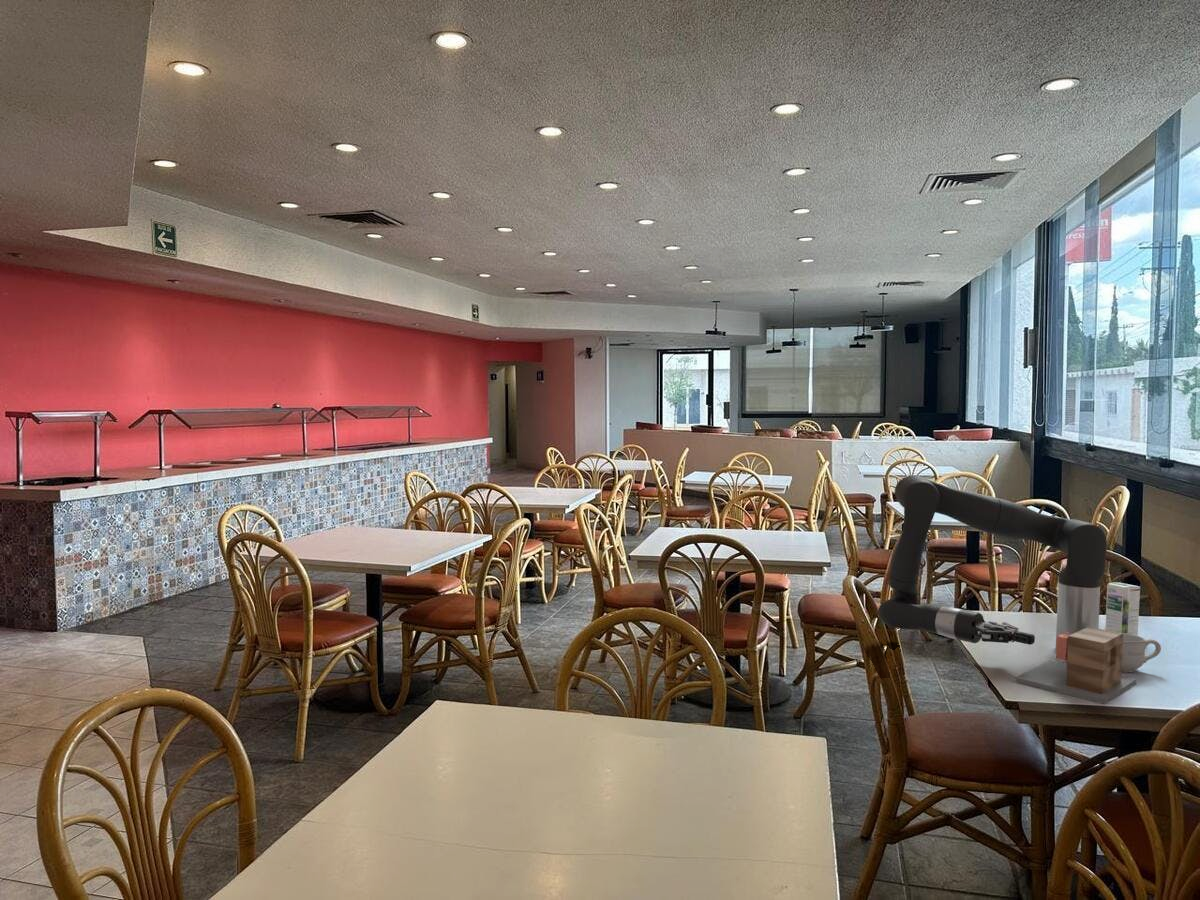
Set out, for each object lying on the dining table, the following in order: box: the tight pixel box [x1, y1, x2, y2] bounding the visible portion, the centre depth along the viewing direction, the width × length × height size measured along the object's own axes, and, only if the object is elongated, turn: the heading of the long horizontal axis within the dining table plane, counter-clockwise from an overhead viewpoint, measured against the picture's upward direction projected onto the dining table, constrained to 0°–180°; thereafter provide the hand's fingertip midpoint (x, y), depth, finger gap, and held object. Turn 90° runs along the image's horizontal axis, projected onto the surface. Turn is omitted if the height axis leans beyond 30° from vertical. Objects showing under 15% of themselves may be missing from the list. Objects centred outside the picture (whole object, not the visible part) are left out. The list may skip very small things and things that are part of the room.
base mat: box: [1014, 659, 1137, 705], centre depth 183 cm, size 20×18×1 cm
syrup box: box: [1104, 581, 1141, 636], centre depth 221 cm, size 6×6×14 cm
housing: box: [1066, 627, 1123, 694], centre depth 179 cm, size 12×7×12 cm, turn 131°
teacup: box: [1121, 633, 1162, 673], centre depth 193 cm, size 14×11×8 cm
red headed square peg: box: [1055, 633, 1071, 662], centre depth 181 cm, size 5×9×5 cm, turn 41°
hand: (1033, 639), depth 189 cm, fingers closed
